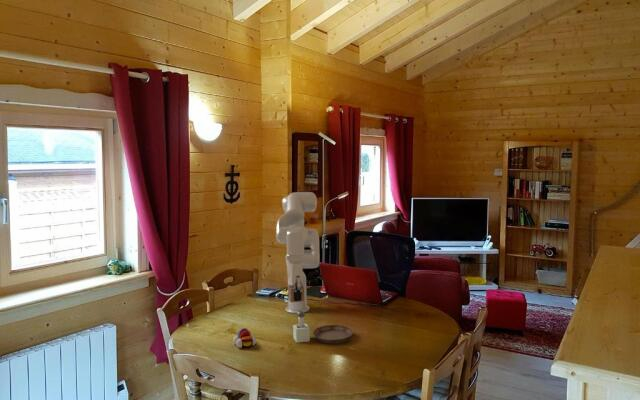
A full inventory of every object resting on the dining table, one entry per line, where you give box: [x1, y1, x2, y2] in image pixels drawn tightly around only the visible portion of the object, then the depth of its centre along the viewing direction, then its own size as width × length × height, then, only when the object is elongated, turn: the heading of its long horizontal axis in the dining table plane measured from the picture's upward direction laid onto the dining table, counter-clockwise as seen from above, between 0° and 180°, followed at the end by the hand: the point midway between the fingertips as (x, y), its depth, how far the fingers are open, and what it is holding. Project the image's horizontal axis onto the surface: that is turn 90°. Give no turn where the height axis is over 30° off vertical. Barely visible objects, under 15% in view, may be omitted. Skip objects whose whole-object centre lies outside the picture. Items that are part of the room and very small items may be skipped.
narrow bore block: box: [287, 284, 304, 302], centre depth 230 cm, size 6×6×6 cm
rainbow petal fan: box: [232, 327, 257, 349], centre depth 228 cm, size 8×10×7 cm
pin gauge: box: [297, 311, 305, 328], centre depth 233 cm, size 3×3×12 cm
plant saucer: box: [312, 324, 354, 344], centre depth 235 cm, size 18×18×3 cm
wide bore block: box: [292, 323, 311, 343], centre depth 233 cm, size 6×6×6 cm
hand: (296, 297), depth 231 cm, fingers closed on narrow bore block, 6 cm apart
